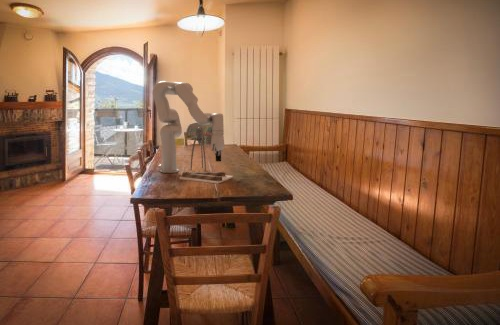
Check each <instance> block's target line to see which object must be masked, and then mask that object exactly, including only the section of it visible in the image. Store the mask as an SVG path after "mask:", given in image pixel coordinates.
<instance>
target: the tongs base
mask: <svg viewBox="0 0 500 325" xmlns="http://www.w3.org/2000/svg"><path fill="white" fill-rule="evenodd" d="M191 172H192V171H184V172H182V173H181V174H182V176H181V177H188V178H197V179H205V180H214V181H222V177H221V176H212V175H203V174H194V173H191Z"/></svg>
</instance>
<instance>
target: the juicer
mask: <svg viewBox="0 0 500 325" xmlns="http://www.w3.org/2000/svg"><path fill="white" fill-rule="evenodd" d="M195 136H196V137H194V140H193V144H192V149H191V156H190V157H191V158H190V171H192V169H193V159H194V152H195V151H194V150H195V145H196V142H197V143H198V146H200V153H201V154H200V156H201V169H203V168H204V172H207V162H206V159H207V158H206V152H205V151H206V150H205V145H204V144H205V143H204V129H203V127H201V126H198V127H196V129H195Z"/></svg>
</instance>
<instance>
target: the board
mask: <svg viewBox="0 0 500 325" xmlns="http://www.w3.org/2000/svg"><path fill="white" fill-rule="evenodd" d="M221 177H222V181H214V180H205V179H197V178H188V177H182V176H179V178H178V179H179V180H185V181H192V182H200V183H210V184H220V183H223V182H226V181H228V180H230V179H234V175H228V174H225V176H221Z"/></svg>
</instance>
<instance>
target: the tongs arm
mask: <svg viewBox="0 0 500 325" xmlns="http://www.w3.org/2000/svg"><path fill="white" fill-rule="evenodd" d="M190 172H191V173H194V174H203V175H212V176H225V175H226V171H190Z"/></svg>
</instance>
